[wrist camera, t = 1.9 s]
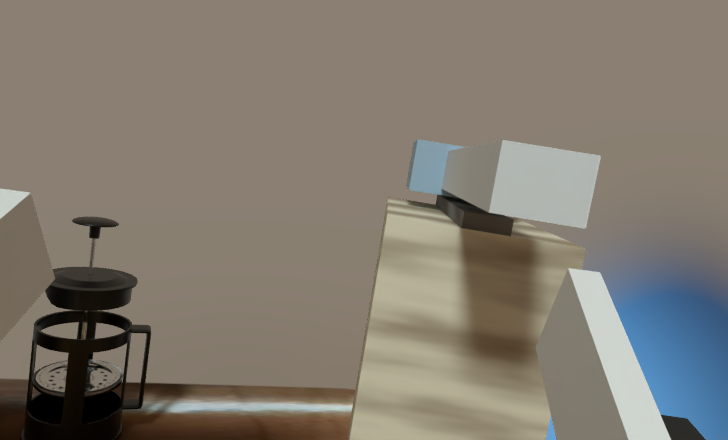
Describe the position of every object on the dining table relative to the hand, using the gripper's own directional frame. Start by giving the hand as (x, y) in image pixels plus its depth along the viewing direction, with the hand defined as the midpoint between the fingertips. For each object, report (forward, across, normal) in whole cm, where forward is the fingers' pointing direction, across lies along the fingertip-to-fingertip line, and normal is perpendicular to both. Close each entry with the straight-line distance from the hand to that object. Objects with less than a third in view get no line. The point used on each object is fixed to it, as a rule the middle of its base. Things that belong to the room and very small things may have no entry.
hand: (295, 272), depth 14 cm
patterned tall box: (+11, +8, -40) cm, 42 cm away
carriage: (+21, +9, -10) cm, 24 cm away
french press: (+21, -26, -45) cm, 56 cm away
